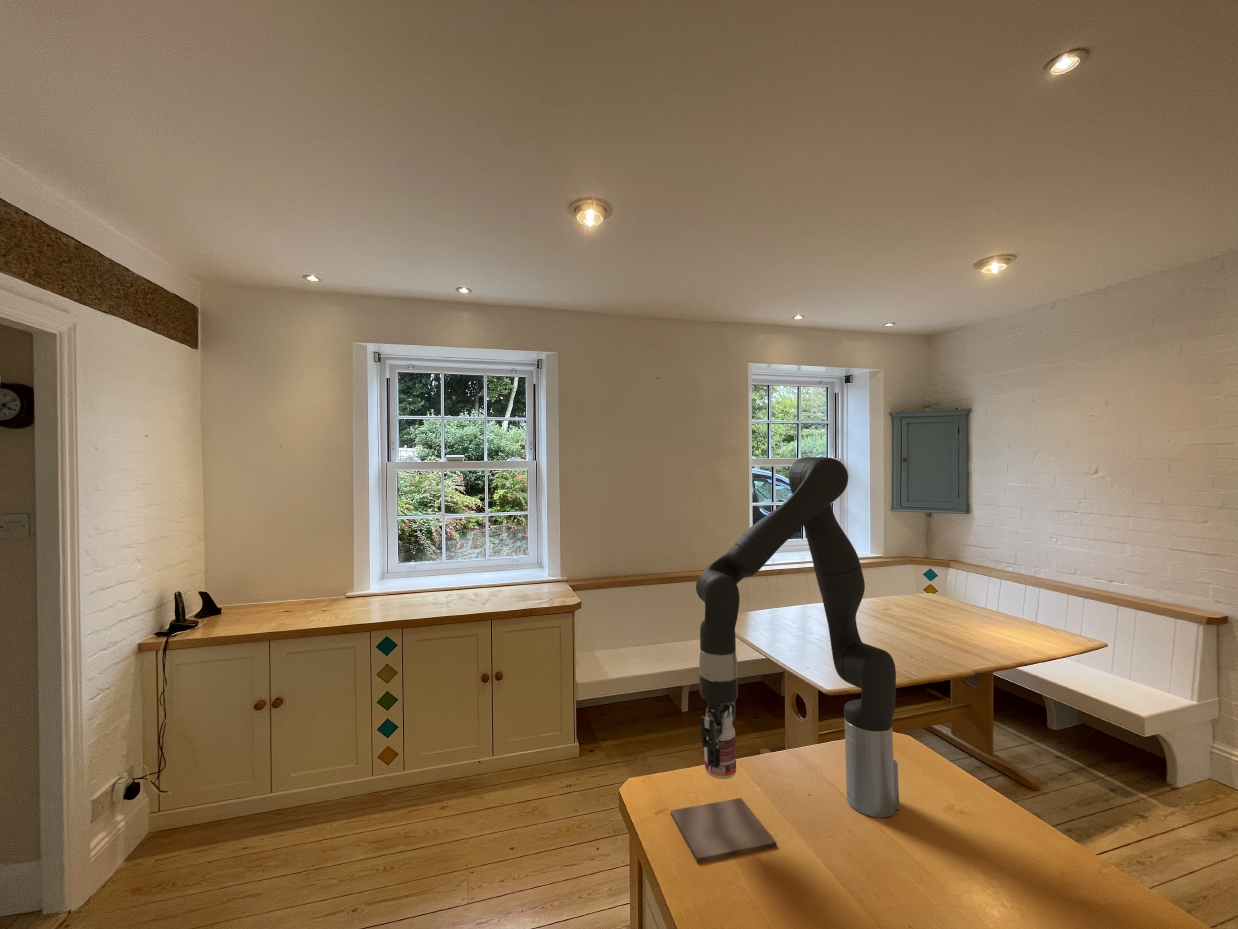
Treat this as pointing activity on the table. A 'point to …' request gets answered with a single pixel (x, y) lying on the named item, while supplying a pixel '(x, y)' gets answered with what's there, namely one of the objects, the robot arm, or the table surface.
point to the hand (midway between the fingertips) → (719, 758)
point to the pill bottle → (724, 753)
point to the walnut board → (721, 830)
